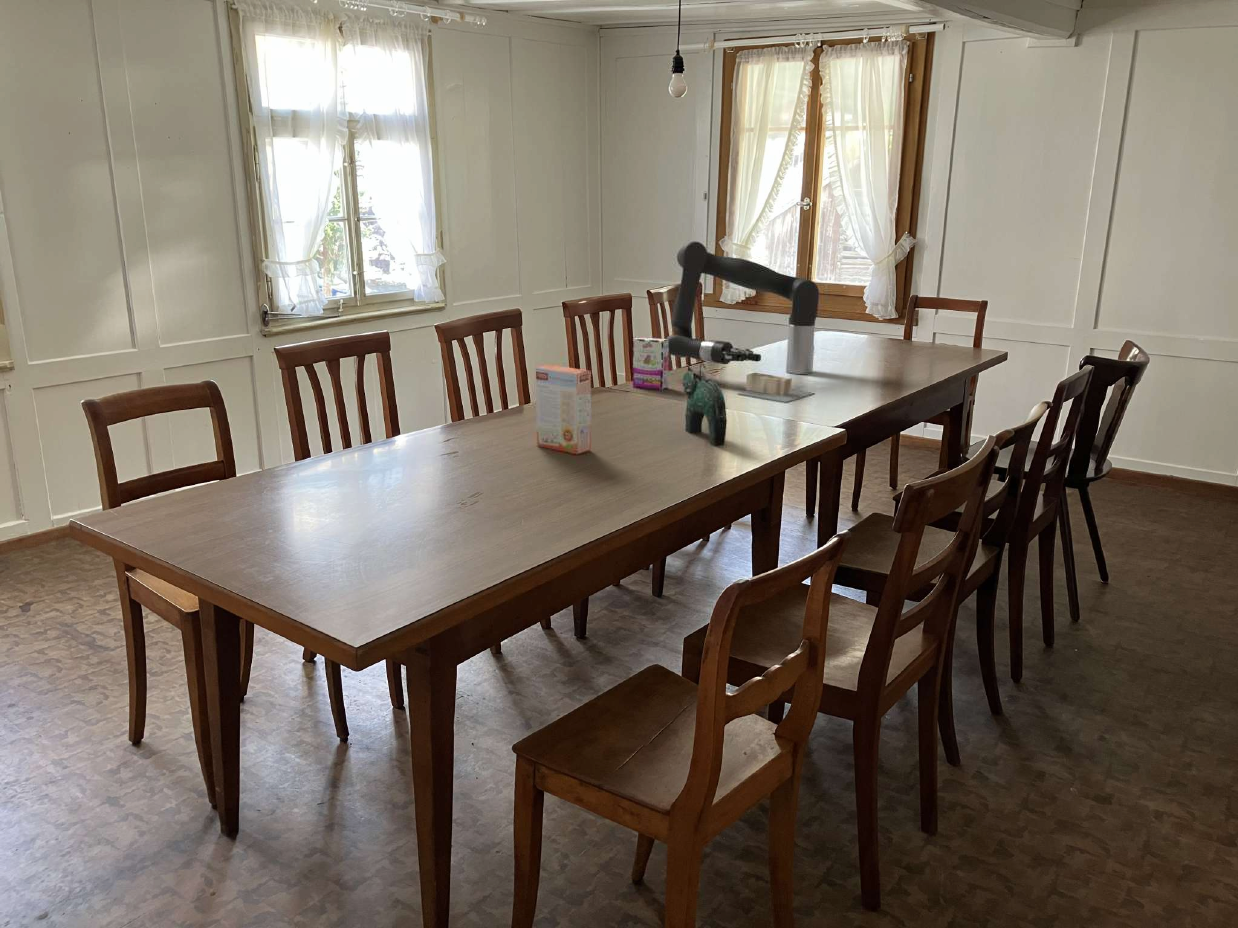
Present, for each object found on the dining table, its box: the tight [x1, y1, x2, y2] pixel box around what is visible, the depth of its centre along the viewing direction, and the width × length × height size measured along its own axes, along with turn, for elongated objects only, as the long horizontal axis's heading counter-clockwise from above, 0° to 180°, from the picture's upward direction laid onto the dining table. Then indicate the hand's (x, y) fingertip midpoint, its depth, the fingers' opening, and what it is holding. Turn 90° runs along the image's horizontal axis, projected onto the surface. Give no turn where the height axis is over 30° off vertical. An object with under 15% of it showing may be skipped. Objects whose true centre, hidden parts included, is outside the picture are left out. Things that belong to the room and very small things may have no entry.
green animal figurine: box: [682, 362, 728, 447], centre depth 260 cm, size 20×6×20 cm, turn 21°
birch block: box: [745, 372, 793, 396], centre depth 317 cm, size 5×5×14 cm
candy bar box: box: [632, 336, 670, 391], centre depth 322 cm, size 11×5×16 cm, turn 62°
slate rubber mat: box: [737, 388, 816, 404], centre depth 316 cm, size 18×18×1 cm
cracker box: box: [535, 364, 592, 455], centre depth 247 cm, size 14×6×21 cm, turn 51°
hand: (759, 358), depth 317 cm, fingers closed
